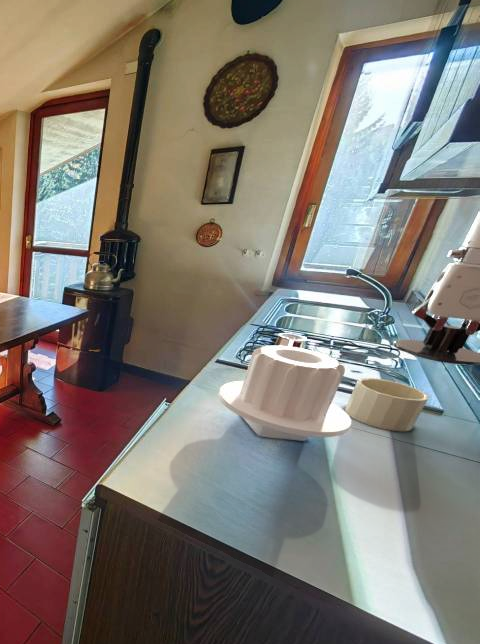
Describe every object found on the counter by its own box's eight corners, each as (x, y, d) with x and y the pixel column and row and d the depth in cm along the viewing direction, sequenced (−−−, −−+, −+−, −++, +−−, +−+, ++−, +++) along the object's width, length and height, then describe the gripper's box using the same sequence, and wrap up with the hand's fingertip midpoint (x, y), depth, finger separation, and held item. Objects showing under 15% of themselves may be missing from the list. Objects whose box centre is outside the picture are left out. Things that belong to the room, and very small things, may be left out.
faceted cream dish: (401, 414, 102) (416, 384, 98) (421, 436, 92) (438, 405, 88) (339, 402, 107) (352, 374, 104) (352, 422, 98) (366, 392, 94)
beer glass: (289, 390, 114) (307, 342, 108) (260, 383, 118) (276, 336, 112) (291, 383, 119) (309, 336, 113) (264, 376, 123) (279, 331, 117)
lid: (467, 351, 83) (482, 324, 81) (502, 373, 73) (521, 342, 70) (383, 340, 89) (395, 314, 87) (404, 359, 79) (418, 330, 77)
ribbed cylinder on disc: (368, 465, 82) (409, 384, 74) (236, 450, 86) (263, 373, 79) (300, 408, 104) (326, 342, 96) (199, 399, 109) (216, 334, 101)
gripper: (435, 257, 74) (392, 347, 81) (569, 264, 67) (508, 363, 74) (419, 253, 80) (381, 337, 87) (540, 259, 72) (487, 351, 80)
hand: (440, 348), depth 80 cm, fingers closed on lid, 2 cm apart
